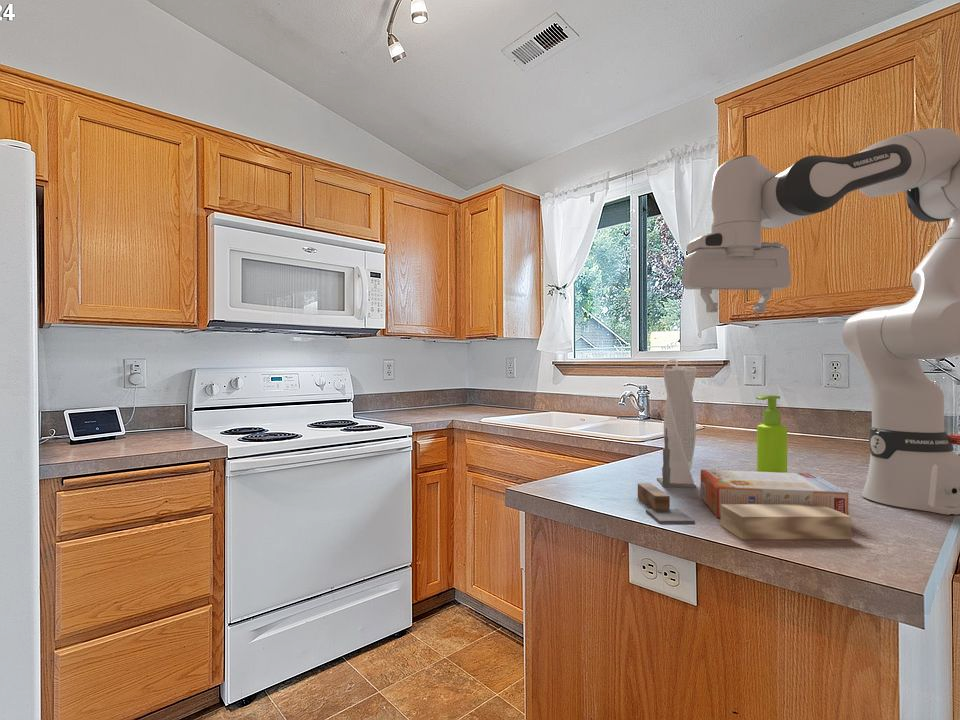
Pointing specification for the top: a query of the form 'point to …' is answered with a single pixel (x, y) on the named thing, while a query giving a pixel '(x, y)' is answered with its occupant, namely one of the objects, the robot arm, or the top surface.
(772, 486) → the cracker box
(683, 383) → the skyscraper
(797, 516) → the beech board
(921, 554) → the top surface
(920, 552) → the top surface
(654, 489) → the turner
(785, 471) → the soap dispenser
